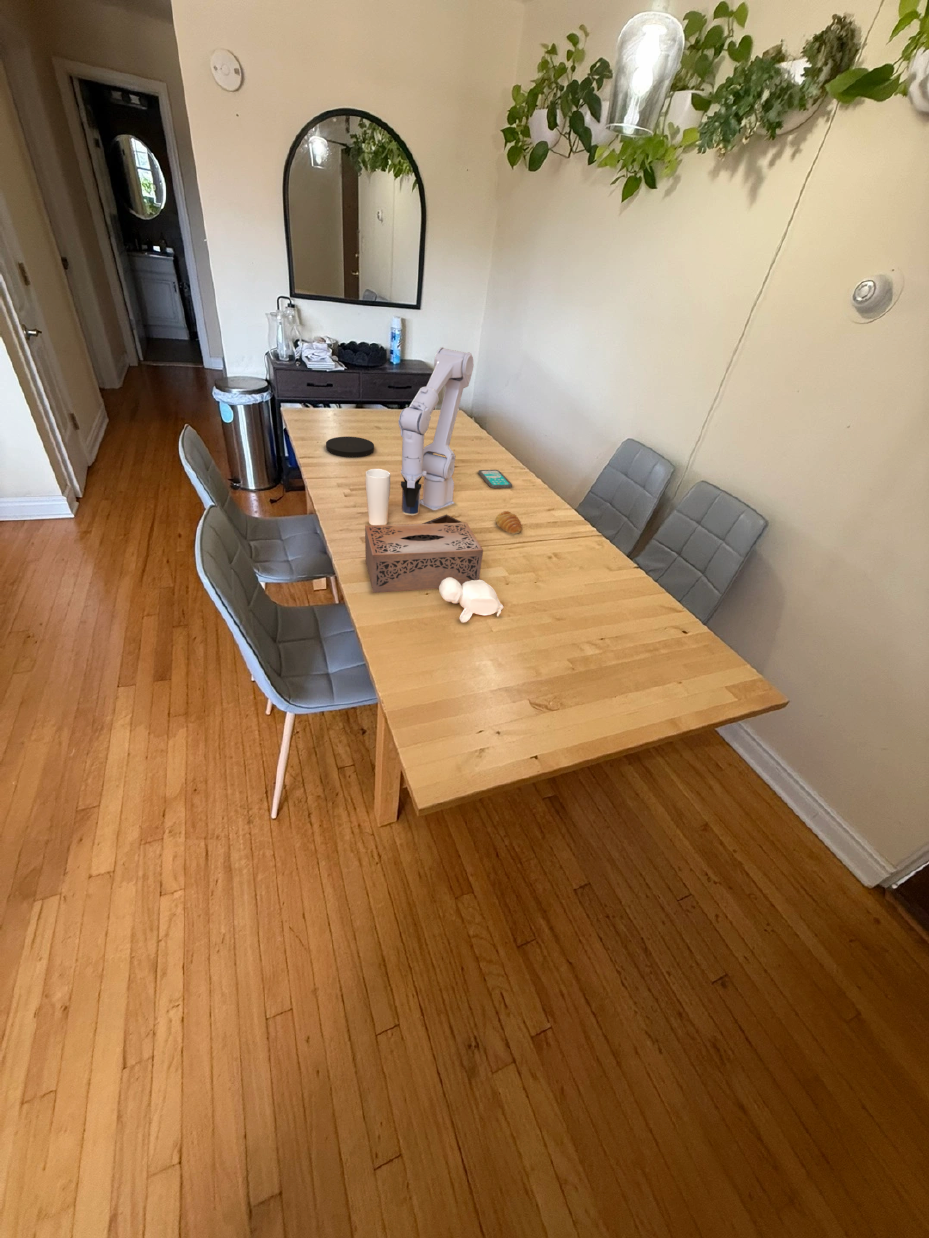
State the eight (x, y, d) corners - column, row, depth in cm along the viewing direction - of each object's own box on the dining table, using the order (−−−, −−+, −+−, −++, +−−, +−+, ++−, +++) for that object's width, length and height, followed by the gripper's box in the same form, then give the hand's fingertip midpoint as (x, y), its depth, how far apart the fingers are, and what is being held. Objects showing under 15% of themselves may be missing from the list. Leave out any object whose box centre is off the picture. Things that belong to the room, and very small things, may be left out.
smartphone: (498, 469, 189) (513, 484, 178) (498, 471, 190) (513, 487, 179) (477, 469, 187) (490, 485, 176) (476, 472, 187) (490, 488, 176)
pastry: (526, 534, 151) (529, 522, 148) (507, 537, 148) (509, 525, 146) (511, 520, 157) (513, 509, 155) (492, 522, 155) (493, 511, 152)
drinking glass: (385, 530, 144) (385, 479, 135) (362, 526, 144) (361, 475, 135) (392, 520, 149) (393, 471, 140) (370, 516, 150) (370, 467, 141)
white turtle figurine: (482, 609, 123) (427, 594, 115) (499, 580, 119) (443, 563, 112) (493, 630, 116) (435, 616, 109) (511, 601, 112) (453, 584, 105)
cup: (410, 506, 150) (411, 480, 145) (422, 512, 147) (423, 486, 143) (398, 510, 147) (399, 484, 142) (409, 517, 144) (411, 490, 140)
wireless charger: (350, 438, 203) (350, 433, 202) (383, 450, 196) (383, 445, 195) (316, 447, 191) (315, 442, 190) (349, 461, 184) (349, 455, 183)
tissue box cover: (372, 592, 118) (372, 555, 112) (365, 561, 129) (365, 525, 123) (478, 585, 125) (483, 550, 119) (462, 556, 136) (466, 522, 130)
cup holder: (409, 536, 142) (409, 528, 141) (445, 522, 152) (446, 514, 150) (428, 547, 138) (429, 538, 137) (465, 531, 148) (466, 524, 146)
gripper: (427, 466, 132) (424, 514, 140) (427, 447, 144) (425, 493, 152) (399, 464, 131) (398, 512, 139) (402, 445, 143) (401, 491, 151)
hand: (410, 502), depth 145 cm, fingers closed on cup, 5 cm apart
